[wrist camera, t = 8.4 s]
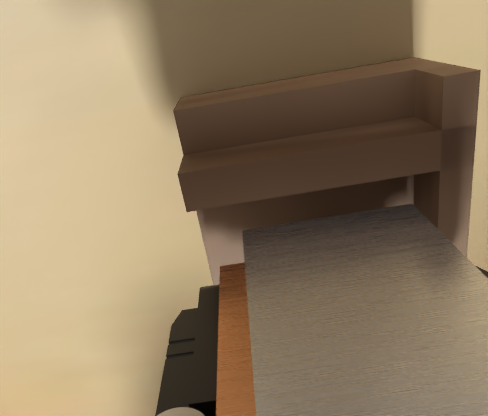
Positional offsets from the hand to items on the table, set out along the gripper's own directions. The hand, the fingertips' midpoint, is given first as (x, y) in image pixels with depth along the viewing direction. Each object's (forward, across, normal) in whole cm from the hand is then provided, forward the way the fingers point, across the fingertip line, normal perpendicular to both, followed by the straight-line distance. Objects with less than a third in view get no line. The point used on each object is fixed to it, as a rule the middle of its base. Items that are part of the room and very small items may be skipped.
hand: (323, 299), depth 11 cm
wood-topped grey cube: (0, 0, 0) cm, 1 cm away
